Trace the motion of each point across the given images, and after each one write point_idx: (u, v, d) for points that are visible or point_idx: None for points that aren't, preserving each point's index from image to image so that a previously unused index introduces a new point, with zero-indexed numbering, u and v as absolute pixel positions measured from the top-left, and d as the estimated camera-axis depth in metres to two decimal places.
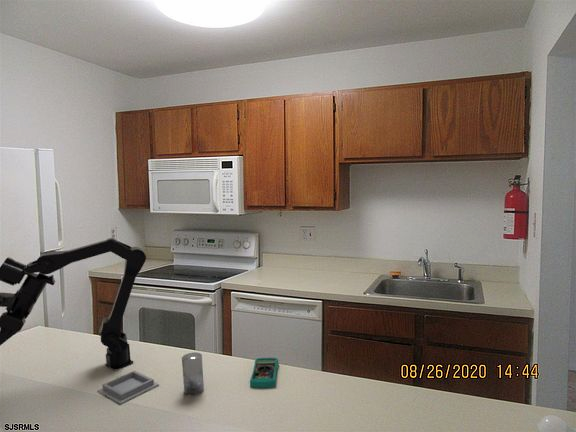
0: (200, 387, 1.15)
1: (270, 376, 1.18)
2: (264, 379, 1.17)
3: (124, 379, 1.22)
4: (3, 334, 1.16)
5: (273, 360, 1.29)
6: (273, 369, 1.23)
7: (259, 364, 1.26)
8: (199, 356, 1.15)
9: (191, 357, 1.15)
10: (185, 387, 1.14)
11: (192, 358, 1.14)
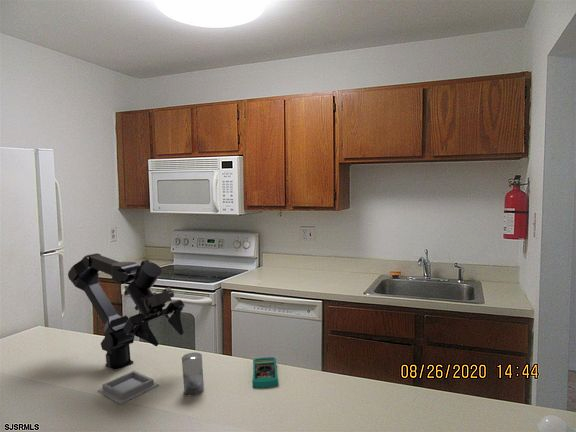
0: (200, 387, 1.15)
1: (272, 375, 1.19)
2: (267, 379, 1.17)
3: (124, 379, 1.22)
4: None
5: (271, 360, 1.30)
6: (273, 368, 1.23)
7: (258, 364, 1.26)
8: (199, 356, 1.15)
9: (191, 357, 1.15)
10: (185, 387, 1.14)
11: (192, 358, 1.14)
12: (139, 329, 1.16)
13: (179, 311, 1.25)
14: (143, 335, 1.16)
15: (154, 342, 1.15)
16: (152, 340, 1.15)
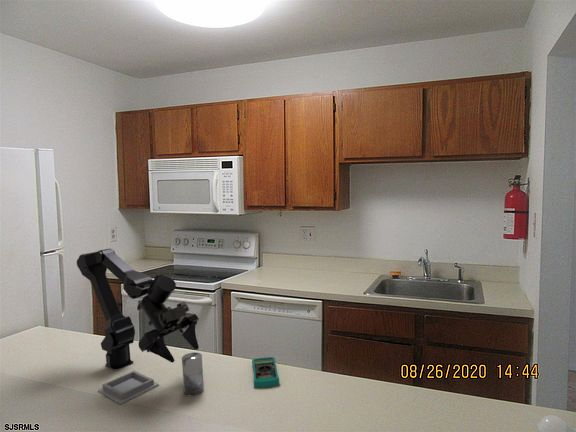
0: (200, 387, 1.15)
1: (273, 375, 1.19)
2: (268, 378, 1.17)
3: (124, 379, 1.22)
4: None
5: (270, 359, 1.30)
6: (274, 368, 1.23)
7: (258, 364, 1.26)
8: (199, 356, 1.15)
9: (191, 357, 1.15)
10: (185, 387, 1.14)
11: (192, 358, 1.14)
12: (154, 345, 1.13)
13: (194, 326, 1.23)
14: (159, 351, 1.14)
15: (170, 358, 1.13)
16: (168, 356, 1.13)
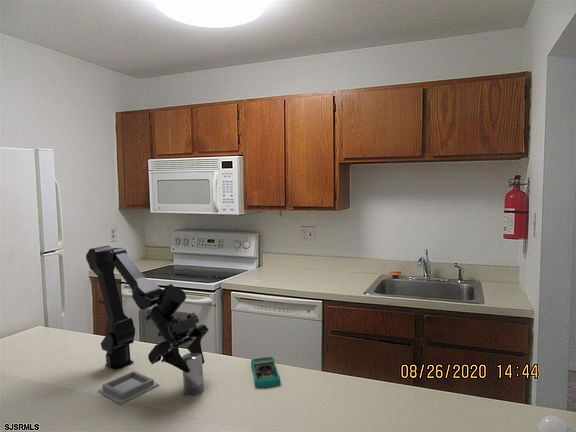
0: (200, 387, 1.15)
1: (274, 375, 1.19)
2: (269, 378, 1.17)
3: (124, 379, 1.22)
4: None
5: (269, 359, 1.30)
6: (274, 368, 1.23)
7: (257, 364, 1.26)
8: (199, 356, 1.15)
9: (191, 357, 1.15)
10: (185, 387, 1.14)
11: (192, 357, 1.14)
12: (169, 355, 1.13)
13: (200, 339, 1.20)
14: (173, 361, 1.13)
15: (185, 369, 1.12)
16: (183, 367, 1.12)
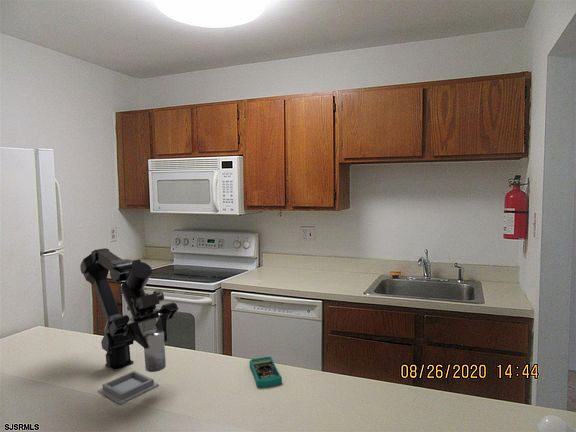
0: (160, 364, 1.13)
1: (275, 374, 1.20)
2: (271, 377, 1.17)
3: (124, 379, 1.22)
4: None
5: (268, 359, 1.30)
6: (274, 367, 1.24)
7: (257, 364, 1.26)
8: (160, 333, 1.14)
9: (152, 333, 1.14)
10: (145, 363, 1.14)
11: (152, 334, 1.13)
12: (130, 329, 1.13)
13: (166, 316, 1.18)
14: (134, 336, 1.13)
15: (143, 344, 1.12)
16: (141, 342, 1.12)
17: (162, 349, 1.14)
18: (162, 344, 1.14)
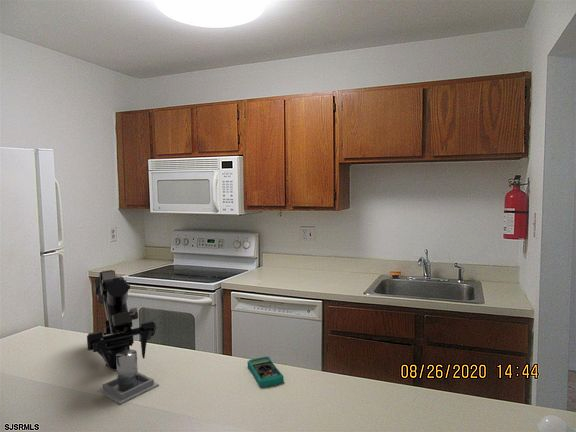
0: (129, 385, 1.16)
1: (276, 373, 1.20)
2: (273, 377, 1.18)
3: None
4: None
5: (266, 359, 1.30)
6: (274, 366, 1.24)
7: (256, 365, 1.26)
8: (131, 354, 1.17)
9: (124, 354, 1.17)
10: None
11: (124, 354, 1.17)
12: (98, 347, 1.17)
13: (147, 333, 1.22)
14: (101, 353, 1.17)
15: (107, 362, 1.15)
16: (106, 360, 1.15)
17: (132, 370, 1.17)
18: (132, 365, 1.17)
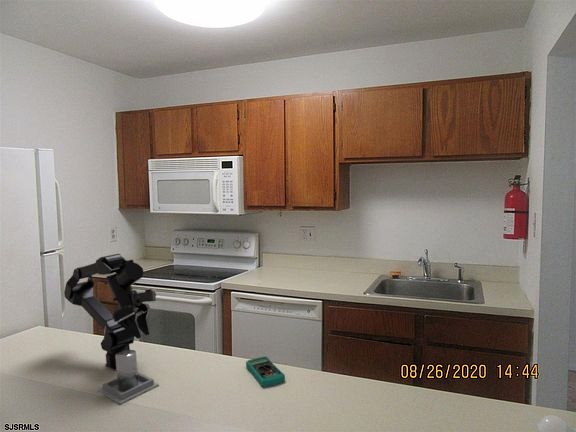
0: (129, 385, 1.16)
1: (277, 372, 1.21)
2: (275, 376, 1.18)
3: None
4: None
5: (264, 359, 1.30)
6: (274, 366, 1.25)
7: (255, 365, 1.26)
8: (131, 355, 1.17)
9: (124, 354, 1.17)
10: None
11: (124, 355, 1.17)
12: (128, 319, 1.22)
13: (148, 313, 1.35)
14: (128, 326, 1.22)
15: (138, 334, 1.23)
16: (137, 332, 1.23)
17: (132, 370, 1.17)
18: (132, 365, 1.17)
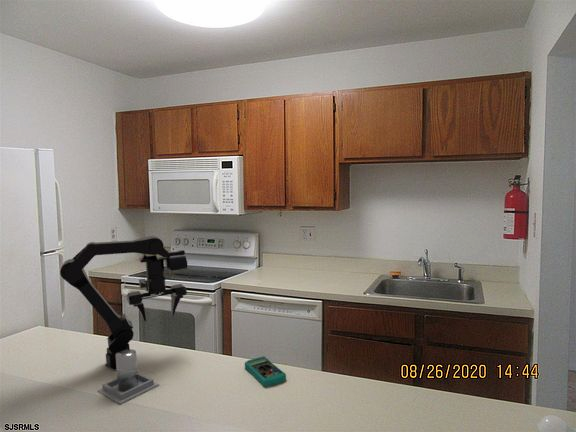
0: (129, 384, 1.16)
1: (278, 372, 1.21)
2: (277, 375, 1.18)
3: None
4: (140, 311, 1.36)
5: (262, 359, 1.30)
6: (273, 365, 1.25)
7: (255, 365, 1.26)
8: (131, 354, 1.17)
9: (124, 354, 1.18)
10: None
11: (124, 354, 1.17)
12: None
13: None
14: None
15: None
16: None
17: (132, 370, 1.17)
18: (132, 365, 1.17)
